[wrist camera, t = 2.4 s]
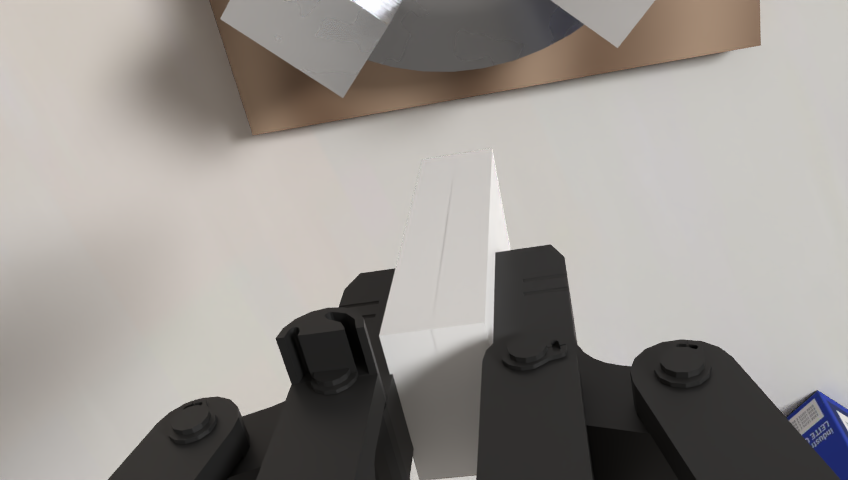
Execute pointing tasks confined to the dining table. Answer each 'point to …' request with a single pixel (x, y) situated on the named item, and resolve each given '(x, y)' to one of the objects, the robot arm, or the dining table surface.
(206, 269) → the dining table surface
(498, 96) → the dining table surface
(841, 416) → the milk carton
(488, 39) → the notched metal disc
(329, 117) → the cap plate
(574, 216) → the dining table surface
